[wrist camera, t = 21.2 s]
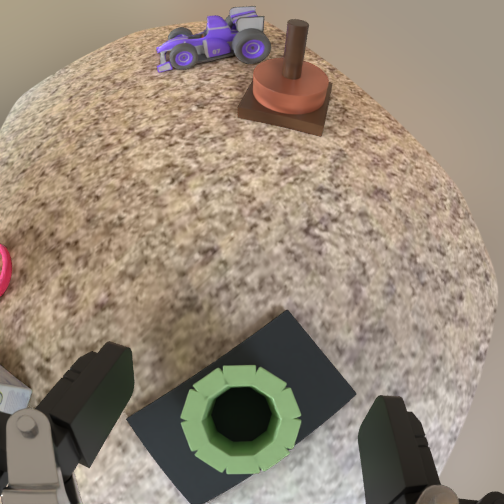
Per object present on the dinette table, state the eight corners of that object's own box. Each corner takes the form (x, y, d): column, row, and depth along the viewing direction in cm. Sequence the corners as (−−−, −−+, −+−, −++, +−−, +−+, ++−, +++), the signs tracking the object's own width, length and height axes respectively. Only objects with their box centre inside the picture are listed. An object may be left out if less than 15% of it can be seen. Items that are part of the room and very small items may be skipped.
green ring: (297, 383, 20) (313, 379, 15) (272, 466, 17) (280, 486, 13) (211, 359, 20) (202, 349, 16) (185, 441, 18) (168, 455, 13)
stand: (330, 92, 34) (347, 19, 25) (321, 136, 30) (342, 51, 21) (259, 76, 35) (263, 3, 26) (237, 117, 31) (237, 31, 22)
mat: (286, 311, 23) (287, 309, 22) (354, 394, 20) (357, 393, 19) (128, 418, 19) (125, 418, 18) (195, 505, 16) (194, 508, 15)
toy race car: (157, 49, 39) (151, 14, 33) (253, 36, 41) (254, 1, 35) (158, 78, 35) (150, 37, 29) (270, 63, 37) (273, 22, 31)
